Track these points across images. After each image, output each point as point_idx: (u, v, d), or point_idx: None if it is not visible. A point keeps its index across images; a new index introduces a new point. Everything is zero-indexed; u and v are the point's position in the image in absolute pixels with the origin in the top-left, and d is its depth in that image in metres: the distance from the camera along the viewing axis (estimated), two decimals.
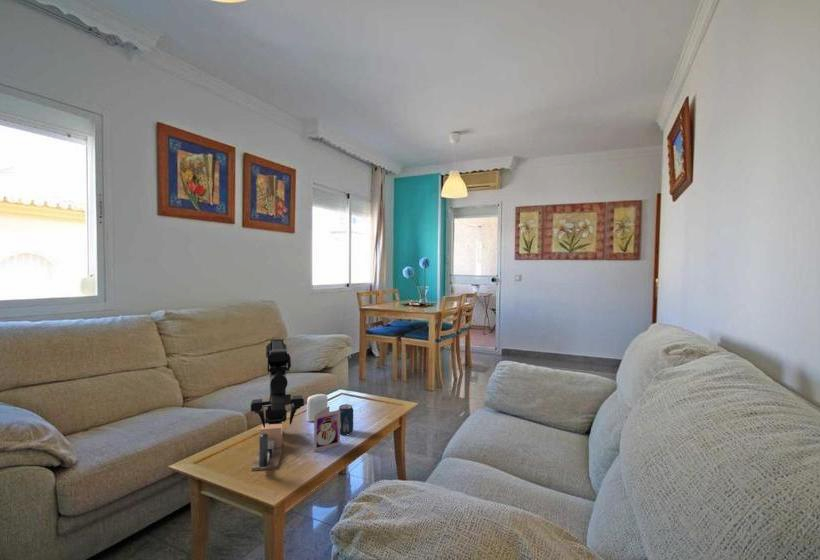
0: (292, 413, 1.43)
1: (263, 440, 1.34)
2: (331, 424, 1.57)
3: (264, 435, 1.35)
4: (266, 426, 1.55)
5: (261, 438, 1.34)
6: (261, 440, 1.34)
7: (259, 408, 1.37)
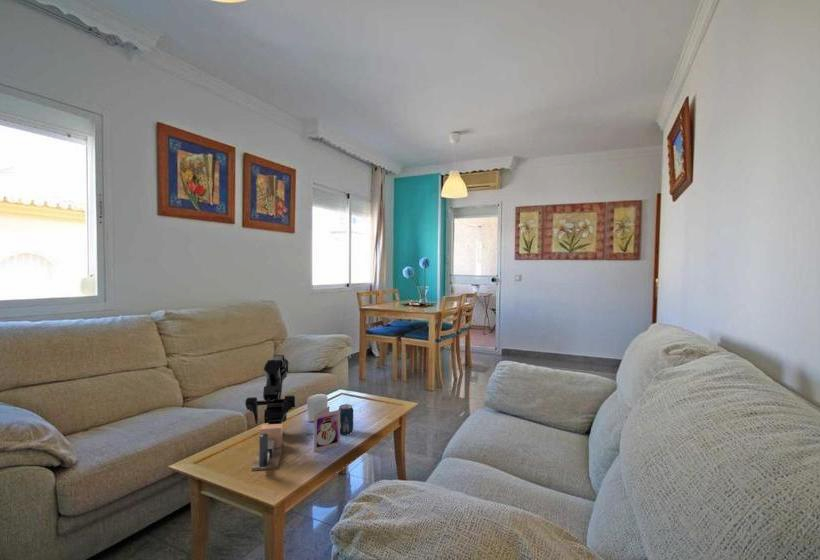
0: (283, 409, 1.51)
1: (263, 440, 1.34)
2: (331, 424, 1.57)
3: (264, 435, 1.35)
4: (266, 426, 1.55)
5: (261, 438, 1.34)
6: (261, 440, 1.34)
7: (253, 400, 1.49)
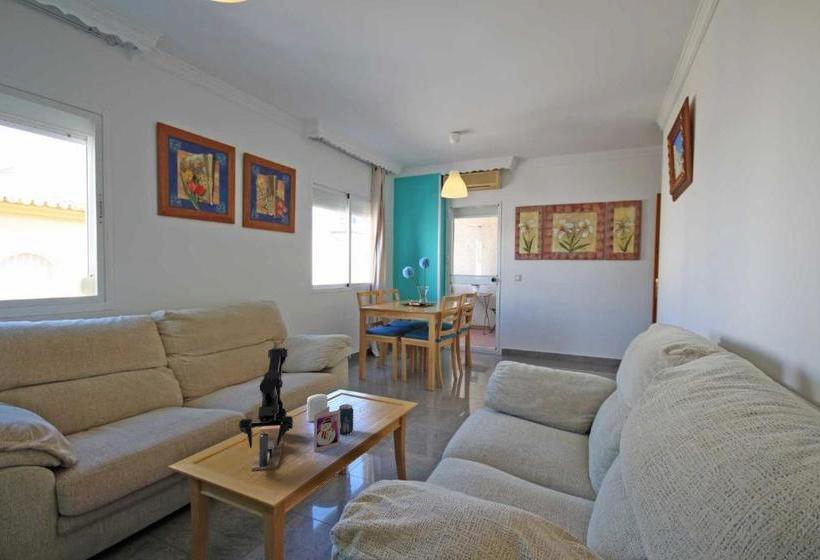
0: (280, 432, 1.40)
1: (263, 440, 1.34)
2: (331, 424, 1.57)
3: (264, 435, 1.35)
4: (266, 426, 1.55)
5: (261, 438, 1.34)
6: (261, 440, 1.34)
7: (247, 422, 1.39)
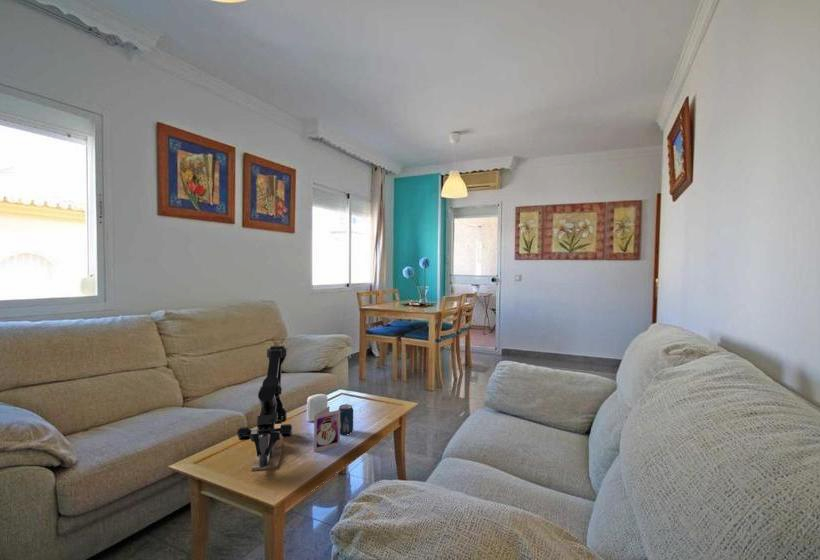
0: (270, 441, 1.37)
1: (263, 440, 1.34)
2: (331, 424, 1.57)
3: (264, 435, 1.35)
4: None
5: (261, 438, 1.34)
6: (261, 440, 1.34)
7: (246, 430, 1.37)
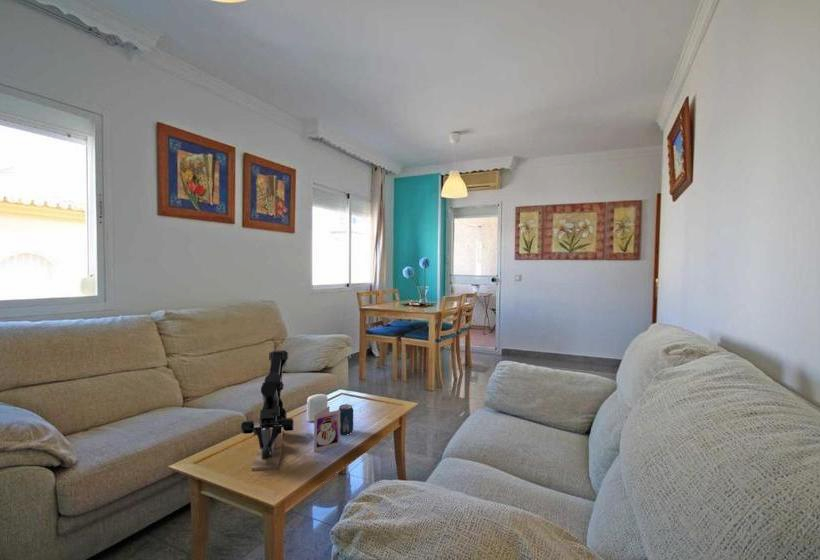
0: (272, 434, 1.43)
1: (266, 433, 1.40)
2: (331, 424, 1.57)
3: (267, 428, 1.41)
4: None
5: (264, 431, 1.40)
6: (264, 433, 1.40)
7: (249, 424, 1.42)
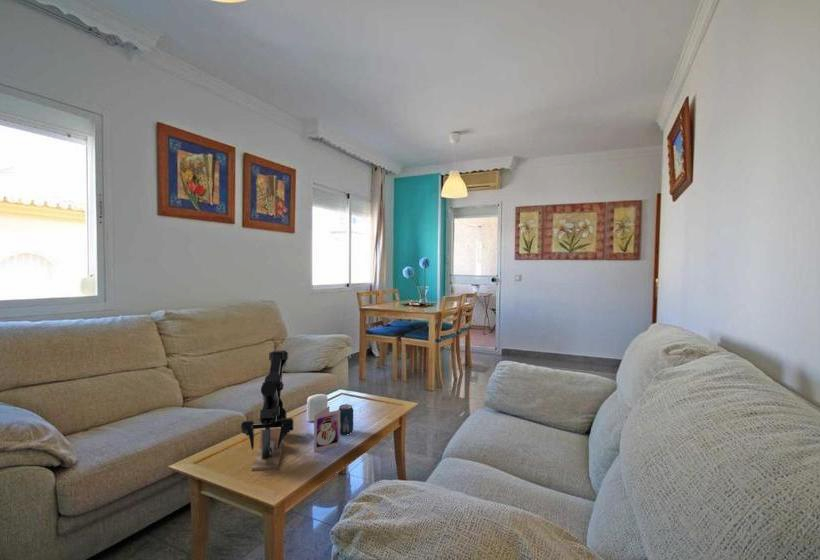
0: (281, 433, 1.44)
1: (266, 433, 1.40)
2: (331, 424, 1.57)
3: (267, 428, 1.41)
4: None
5: (264, 431, 1.40)
6: (264, 433, 1.40)
7: (249, 424, 1.42)
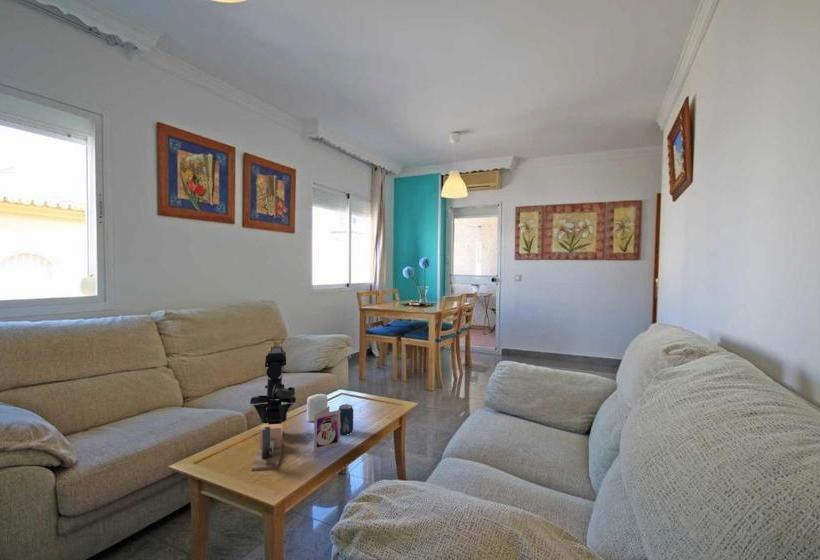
0: (286, 410, 1.57)
1: (266, 433, 1.40)
2: (331, 424, 1.57)
3: (267, 428, 1.41)
4: (266, 426, 1.55)
5: (264, 431, 1.40)
6: (264, 433, 1.40)
7: (266, 400, 1.48)
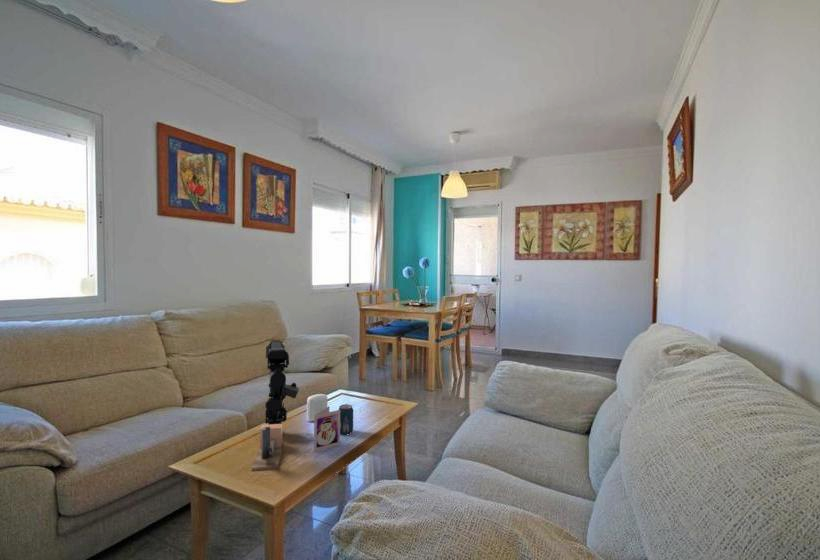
0: None
1: (266, 433, 1.40)
2: (331, 424, 1.57)
3: (267, 428, 1.41)
4: (266, 426, 1.55)
5: (264, 431, 1.40)
6: (264, 433, 1.40)
7: (282, 402, 1.49)
